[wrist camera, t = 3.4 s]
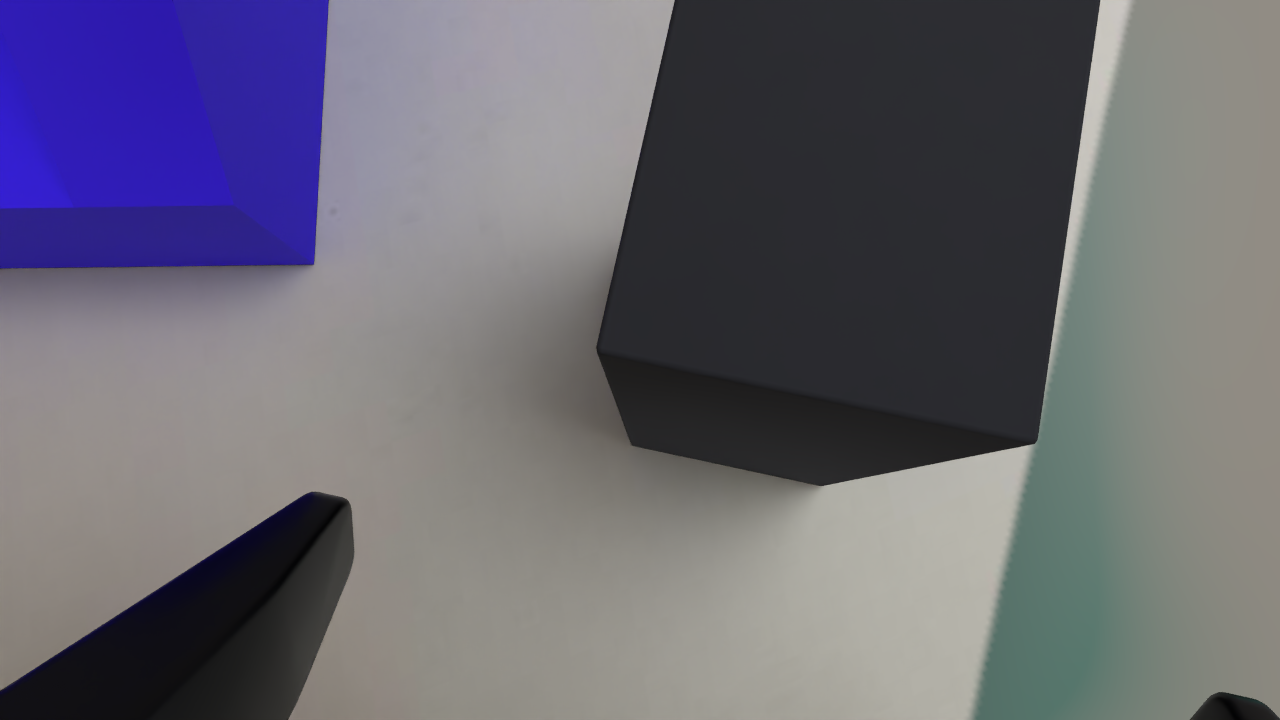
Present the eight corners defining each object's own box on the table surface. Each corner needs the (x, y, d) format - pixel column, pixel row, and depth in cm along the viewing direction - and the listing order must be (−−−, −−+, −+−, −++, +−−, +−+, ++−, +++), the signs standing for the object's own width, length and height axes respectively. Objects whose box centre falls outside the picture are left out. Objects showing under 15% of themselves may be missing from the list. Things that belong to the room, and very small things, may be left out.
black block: (823, 486, 21) (1039, 445, 9) (630, 445, 21) (594, 352, 9) (861, 277, 22) (1104, -11, 10) (674, 240, 22) (693, -85, 10)
